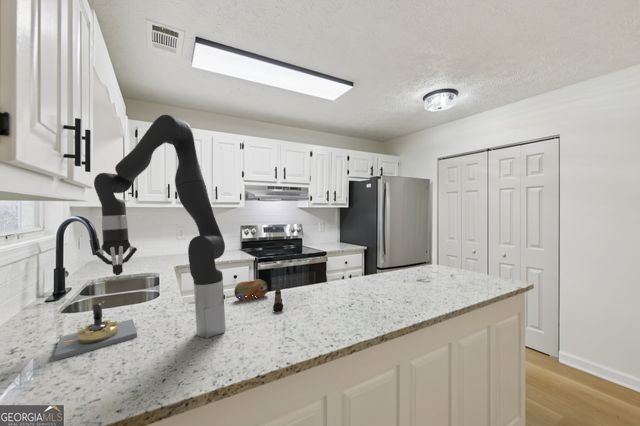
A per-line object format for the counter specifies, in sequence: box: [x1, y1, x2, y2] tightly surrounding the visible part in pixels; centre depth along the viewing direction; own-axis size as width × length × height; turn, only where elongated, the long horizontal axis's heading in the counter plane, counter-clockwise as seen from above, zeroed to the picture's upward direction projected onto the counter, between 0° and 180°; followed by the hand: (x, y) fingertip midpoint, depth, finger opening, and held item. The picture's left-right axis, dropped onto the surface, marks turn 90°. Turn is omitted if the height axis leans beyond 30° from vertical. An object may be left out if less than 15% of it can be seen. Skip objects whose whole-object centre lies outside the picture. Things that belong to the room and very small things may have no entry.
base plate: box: [53, 319, 138, 361], centre depth 91 cm, size 16×20×2 cm
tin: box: [233, 278, 269, 302], centre depth 126 cm, size 15×3×8 cm, turn 114°
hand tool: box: [272, 288, 284, 313], centre depth 116 cm, size 19×4×5 cm, turn 6°
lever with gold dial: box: [76, 302, 118, 344], centre depth 91 cm, size 15×10×8 cm, turn 39°
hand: (118, 274), depth 100 cm, fingers closed
